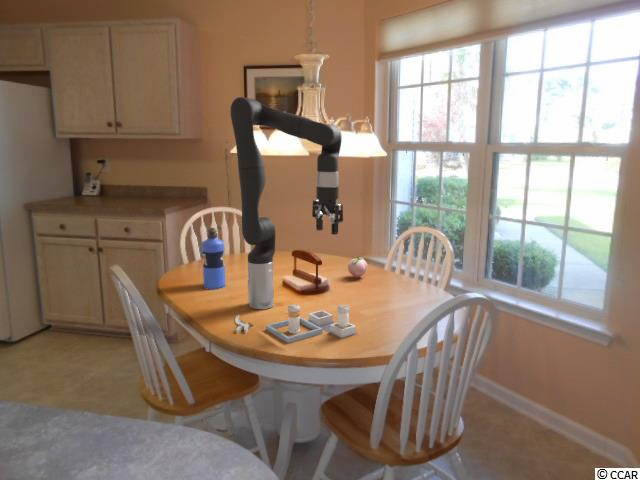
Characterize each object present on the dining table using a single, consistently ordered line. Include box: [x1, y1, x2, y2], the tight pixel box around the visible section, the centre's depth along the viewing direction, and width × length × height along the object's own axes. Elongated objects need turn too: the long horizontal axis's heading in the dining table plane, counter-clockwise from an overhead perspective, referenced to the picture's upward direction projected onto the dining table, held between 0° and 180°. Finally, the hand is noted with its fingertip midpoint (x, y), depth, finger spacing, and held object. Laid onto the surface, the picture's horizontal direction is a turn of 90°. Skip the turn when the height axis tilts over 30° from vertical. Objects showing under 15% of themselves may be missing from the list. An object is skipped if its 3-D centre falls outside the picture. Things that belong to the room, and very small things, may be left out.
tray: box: [265, 316, 324, 344], centre depth 155 cm, size 13×13×2 cm
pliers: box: [234, 314, 254, 334], centre depth 163 cm, size 10×2×15 cm
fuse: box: [336, 304, 350, 329], centre depth 153 cm, size 4×4×8 cm
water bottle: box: [200, 227, 226, 290], centre depth 203 cm, size 9×9×25 cm
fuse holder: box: [306, 310, 359, 340], centre depth 158 cm, size 19×7×4 cm, turn 36°
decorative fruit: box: [347, 256, 368, 279], centre depth 217 cm, size 9×8×10 cm
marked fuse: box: [287, 304, 301, 335], centre depth 154 cm, size 4×4×8 cm
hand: (327, 232), depth 166 cm, fingers open, 8 cm apart
